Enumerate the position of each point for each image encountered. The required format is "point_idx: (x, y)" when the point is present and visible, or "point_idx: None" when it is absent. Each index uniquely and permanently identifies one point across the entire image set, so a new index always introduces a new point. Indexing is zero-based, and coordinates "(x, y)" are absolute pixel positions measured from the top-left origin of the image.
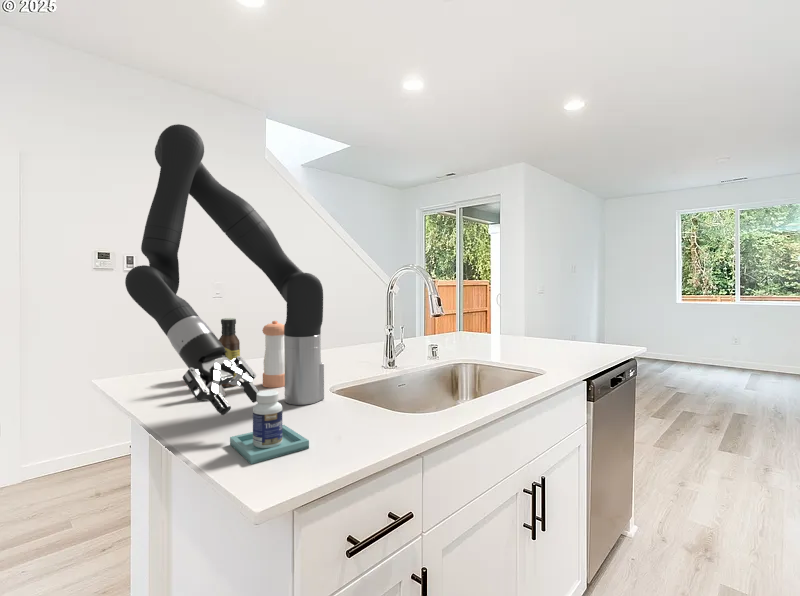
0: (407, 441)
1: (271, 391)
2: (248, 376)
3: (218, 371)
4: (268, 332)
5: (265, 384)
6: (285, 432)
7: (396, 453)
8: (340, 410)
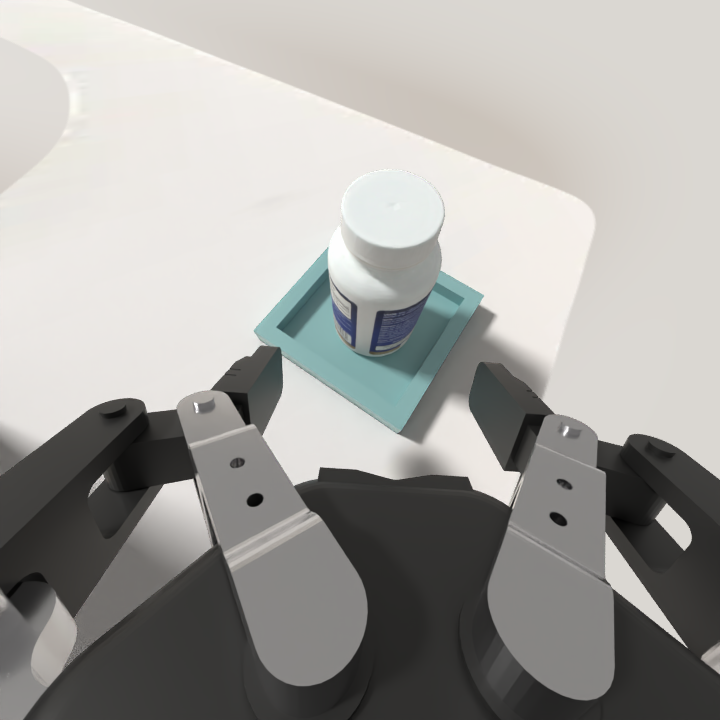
0: (262, 93)
1: (360, 204)
2: (184, 417)
3: (528, 529)
4: None
5: None
6: (295, 310)
7: (325, 99)
8: (31, 270)
